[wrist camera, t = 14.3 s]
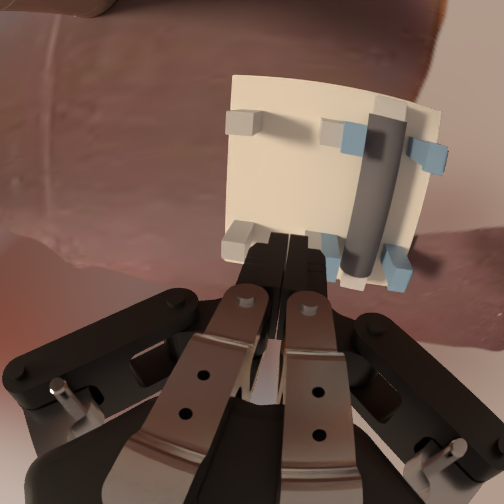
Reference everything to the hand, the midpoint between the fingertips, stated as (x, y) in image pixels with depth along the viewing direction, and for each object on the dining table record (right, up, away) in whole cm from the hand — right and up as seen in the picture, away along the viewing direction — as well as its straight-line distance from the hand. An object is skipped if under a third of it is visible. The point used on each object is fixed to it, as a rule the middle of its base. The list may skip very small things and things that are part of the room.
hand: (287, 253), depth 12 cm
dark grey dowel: (+11, +6, +16) cm, 20 cm away
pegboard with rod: (+6, +7, +17) cm, 20 cm away
